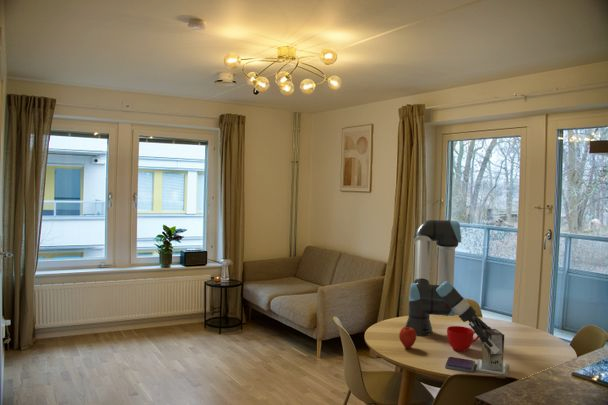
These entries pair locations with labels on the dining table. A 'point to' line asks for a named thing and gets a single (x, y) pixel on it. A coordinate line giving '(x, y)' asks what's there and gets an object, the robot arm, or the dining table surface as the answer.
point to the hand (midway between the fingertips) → (497, 347)
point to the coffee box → (488, 356)
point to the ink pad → (460, 364)
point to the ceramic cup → (460, 337)
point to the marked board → (483, 368)
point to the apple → (407, 336)
